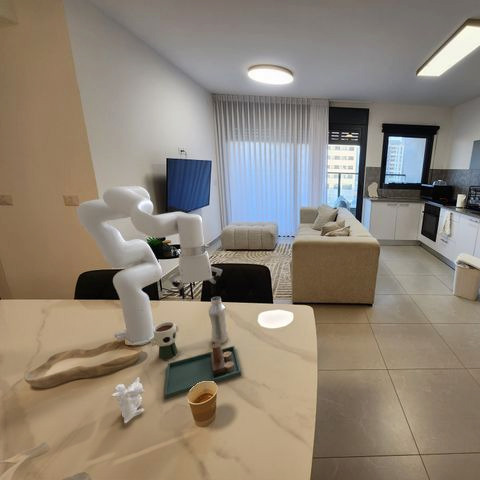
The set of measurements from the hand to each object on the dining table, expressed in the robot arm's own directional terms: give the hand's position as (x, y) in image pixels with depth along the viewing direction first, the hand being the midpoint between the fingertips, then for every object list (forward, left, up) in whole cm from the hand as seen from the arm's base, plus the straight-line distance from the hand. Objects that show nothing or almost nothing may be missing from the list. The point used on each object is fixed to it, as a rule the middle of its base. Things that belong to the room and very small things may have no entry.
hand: (198, 295), depth 94 cm
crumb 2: (+7, -12, -25) cm, 29 cm away
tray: (-1, -9, -26) cm, 28 cm away
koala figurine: (-21, -18, -26) cm, 38 cm away
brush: (+4, -9, -25) cm, 27 cm away
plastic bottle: (+6, +7, -26) cm, 28 cm away
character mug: (-13, +6, -26) cm, 30 cm away
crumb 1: (+7, -6, -25) cm, 27 cm away
